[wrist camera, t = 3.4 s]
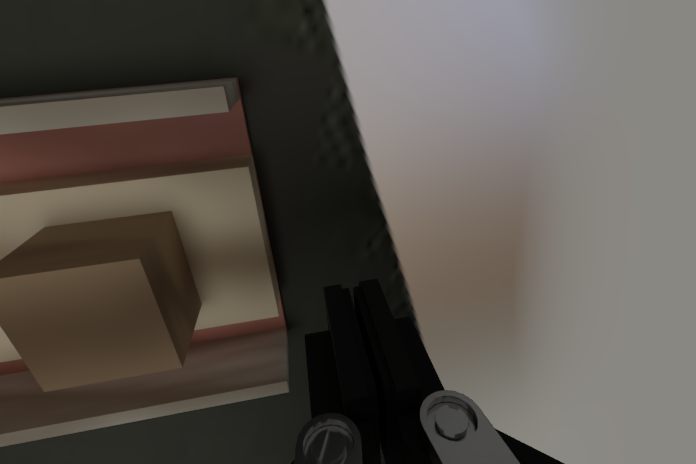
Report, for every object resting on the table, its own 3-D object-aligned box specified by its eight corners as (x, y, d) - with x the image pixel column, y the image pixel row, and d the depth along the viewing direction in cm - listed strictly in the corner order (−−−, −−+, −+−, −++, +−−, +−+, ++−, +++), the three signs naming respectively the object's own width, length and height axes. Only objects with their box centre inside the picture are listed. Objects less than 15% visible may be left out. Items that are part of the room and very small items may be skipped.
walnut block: (201, 304, 18) (182, 367, 14) (92, 321, 17) (44, 392, 14) (171, 210, 15) (139, 258, 12) (44, 227, 15) (-29, 282, 11)
